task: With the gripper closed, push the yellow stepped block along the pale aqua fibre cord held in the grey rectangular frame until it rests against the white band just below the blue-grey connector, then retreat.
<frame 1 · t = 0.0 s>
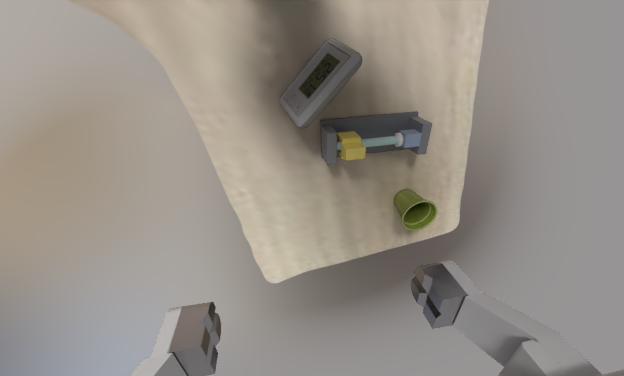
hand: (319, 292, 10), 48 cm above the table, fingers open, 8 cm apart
digital clock: (312, 79, 51), on the table
plant pot: (403, 198, 71), on the table
yellow stepped block: (350, 147, 53), point 7 cm above the table, slide at 0.0 cm
grey rectangular frame: (368, 134, 59), on the table
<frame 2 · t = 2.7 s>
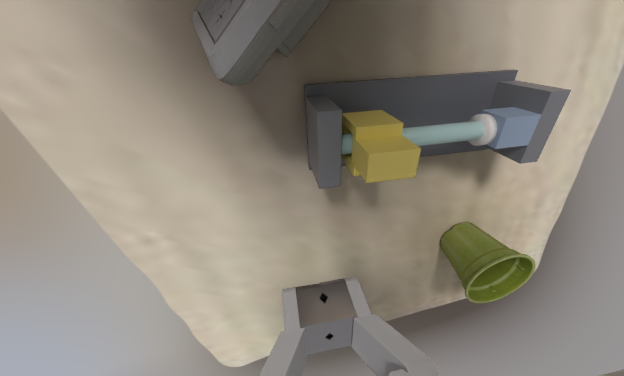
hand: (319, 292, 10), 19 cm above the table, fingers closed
plant pot: (456, 235, 40), on the table
yellow stepped block: (374, 147, 22), point 7 cm above the table, slide at 0.0 cm
grey rectangular frame: (407, 120, 28), on the table
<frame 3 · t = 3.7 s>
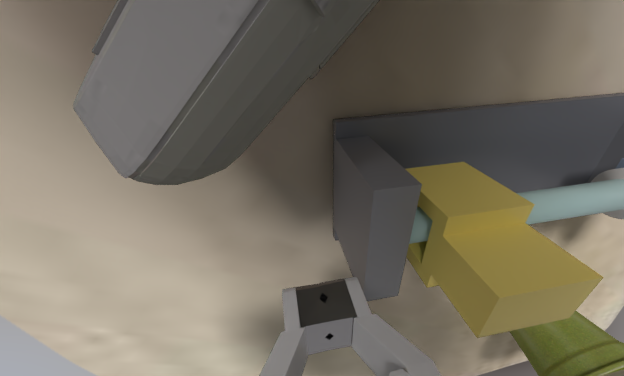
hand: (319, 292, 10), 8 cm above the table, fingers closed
plant pot: (520, 301, 30), on the table
yellow stepped block: (466, 239, 12), point 7 cm above the table, slide at 0.0 cm
grey rectangular frame: (485, 166, 18), on the table
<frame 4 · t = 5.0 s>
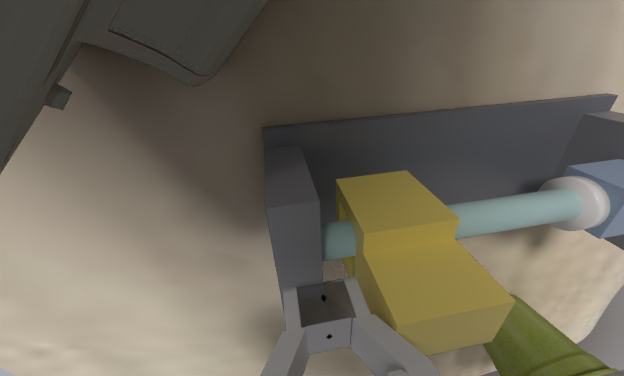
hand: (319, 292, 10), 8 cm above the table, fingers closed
plant pot: (492, 309, 30), on the table
yellow stepped block: (398, 253, 11), point 7 cm above the table, slide at 0.6 cm, touching gripper
grey rectangular frame: (434, 173, 18), on the table
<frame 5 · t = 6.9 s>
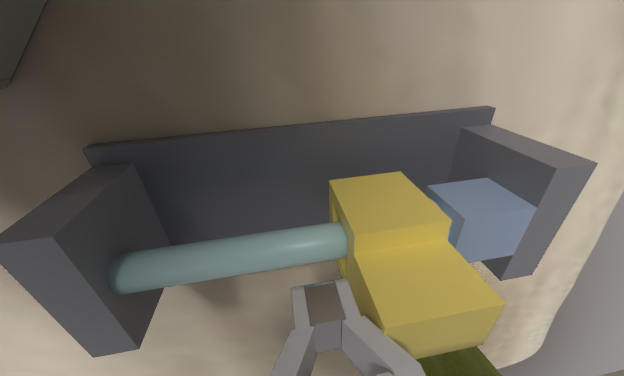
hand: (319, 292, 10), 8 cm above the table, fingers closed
plant pot: (423, 324, 28), on the table
yellow stepped block: (390, 255, 11), point 6 cm above the table, slide at 9.1 cm, touching grey rectangular frame, gripper
grey rectangular frame: (311, 190, 17), on the table
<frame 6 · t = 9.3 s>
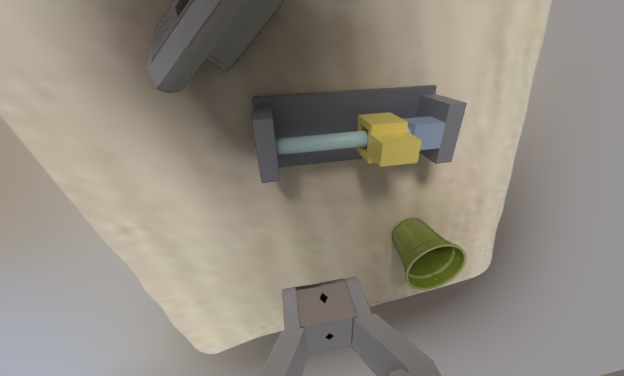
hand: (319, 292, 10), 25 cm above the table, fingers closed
digital clock: (222, 1, 25), on the table
plant pot: (407, 230, 45), on the table
yellow stepped block: (385, 141, 28), point 7 cm above the table, slide at 9.1 cm
grey rectangular frame: (346, 127, 33), on the table
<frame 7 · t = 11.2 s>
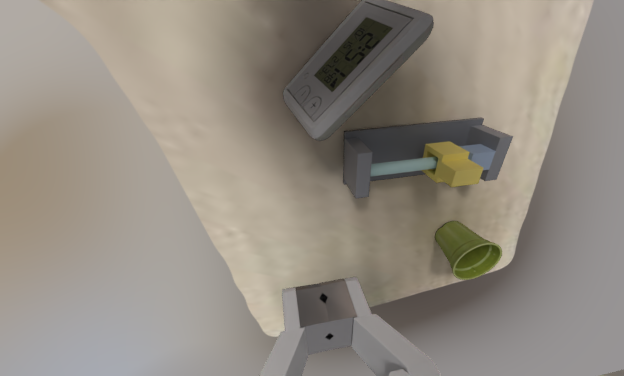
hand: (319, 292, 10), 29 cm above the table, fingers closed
digital clock: (333, 63, 33), on the table
plant pot: (447, 231, 53), on the table
yellow stepped block: (449, 165, 36), point 7 cm above the table, slide at 9.1 cm
grey rectangular frame: (410, 150, 41), on the table
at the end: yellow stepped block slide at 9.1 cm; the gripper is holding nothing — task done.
